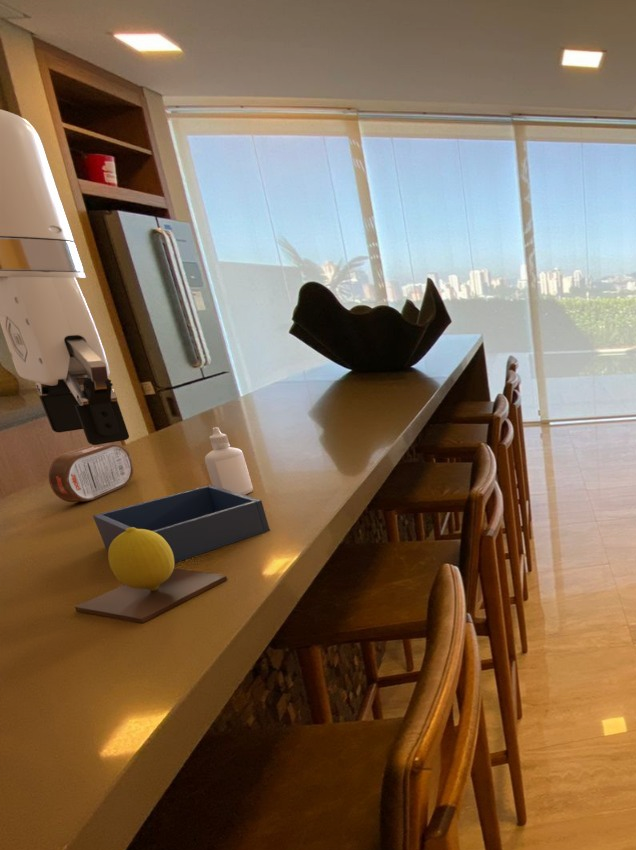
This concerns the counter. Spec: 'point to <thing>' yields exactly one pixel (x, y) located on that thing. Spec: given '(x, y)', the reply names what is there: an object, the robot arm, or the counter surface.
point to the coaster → (151, 596)
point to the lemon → (141, 559)
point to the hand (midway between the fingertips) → (90, 435)
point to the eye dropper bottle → (227, 465)
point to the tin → (90, 472)
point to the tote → (190, 520)
